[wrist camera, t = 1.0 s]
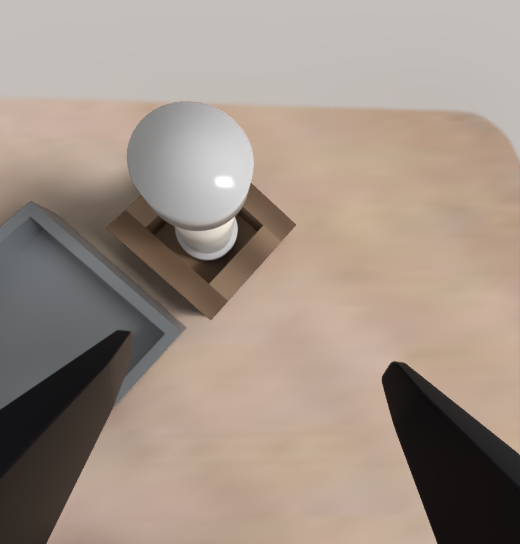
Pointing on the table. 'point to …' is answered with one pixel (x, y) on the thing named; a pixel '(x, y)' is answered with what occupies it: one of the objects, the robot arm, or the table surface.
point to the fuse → (193, 174)
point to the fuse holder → (197, 274)
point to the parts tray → (67, 304)
